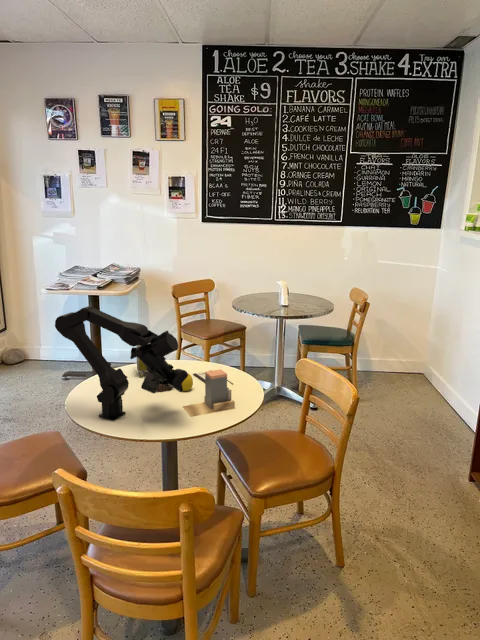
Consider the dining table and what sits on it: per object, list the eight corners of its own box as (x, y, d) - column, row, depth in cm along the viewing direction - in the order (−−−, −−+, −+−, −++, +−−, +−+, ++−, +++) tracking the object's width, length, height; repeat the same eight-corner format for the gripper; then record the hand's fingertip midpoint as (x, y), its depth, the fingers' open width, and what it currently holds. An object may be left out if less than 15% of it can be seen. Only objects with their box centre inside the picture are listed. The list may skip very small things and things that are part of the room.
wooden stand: (191, 419, 155) (190, 399, 154) (181, 409, 163) (181, 390, 161) (235, 410, 162) (235, 392, 161) (224, 401, 170) (224, 383, 168)
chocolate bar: (213, 387, 181) (192, 373, 196) (213, 390, 182) (192, 375, 196) (233, 383, 186) (211, 370, 201) (233, 385, 186) (211, 372, 201)
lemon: (179, 395, 175) (179, 375, 173) (177, 390, 180) (177, 370, 178) (194, 394, 176) (194, 374, 174) (191, 388, 181) (191, 369, 179)
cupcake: (177, 384, 186) (177, 360, 183) (171, 393, 176) (171, 368, 174) (154, 383, 187) (153, 359, 184) (147, 392, 177) (146, 367, 175)
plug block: (211, 409, 161) (211, 376, 158) (205, 403, 165) (205, 371, 162) (226, 406, 164) (227, 373, 161) (220, 401, 168) (220, 369, 165)
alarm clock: (138, 369, 202) (137, 335, 199) (154, 368, 203) (153, 335, 200) (137, 378, 191) (135, 343, 188) (154, 377, 192) (153, 342, 189)
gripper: (123, 374, 154) (152, 404, 161) (149, 384, 139) (180, 416, 146) (146, 349, 158) (173, 379, 165) (173, 356, 143) (202, 389, 151)
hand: (181, 391), depth 157 cm, fingers closed
